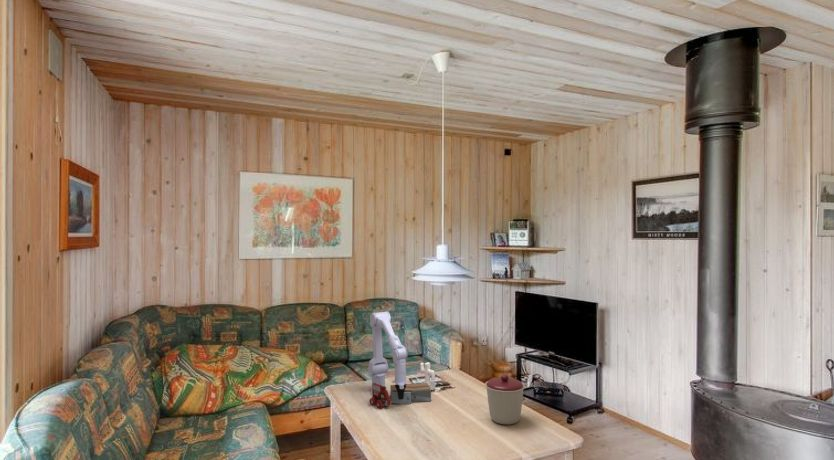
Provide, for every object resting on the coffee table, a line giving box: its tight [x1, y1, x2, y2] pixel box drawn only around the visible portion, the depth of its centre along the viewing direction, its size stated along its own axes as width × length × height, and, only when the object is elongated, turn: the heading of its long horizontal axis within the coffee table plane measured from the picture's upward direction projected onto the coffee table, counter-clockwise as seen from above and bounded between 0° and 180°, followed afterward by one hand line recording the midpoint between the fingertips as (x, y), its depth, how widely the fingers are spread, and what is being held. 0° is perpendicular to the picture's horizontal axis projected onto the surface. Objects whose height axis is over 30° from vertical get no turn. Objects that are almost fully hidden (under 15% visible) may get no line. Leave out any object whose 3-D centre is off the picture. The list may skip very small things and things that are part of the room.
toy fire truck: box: [369, 383, 392, 410], centre depth 234 cm, size 7×12×10 cm, turn 44°
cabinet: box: [389, 382, 432, 403], centre depth 242 cm, size 12×20×6 cm, turn 97°
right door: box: [391, 392, 412, 405], centre depth 235 cm, size 2×10×6 cm, turn 85°
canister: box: [484, 373, 526, 426], centre depth 214 cm, size 18×18×21 cm
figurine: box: [419, 361, 438, 391], centre depth 256 cm, size 7×9×15 cm
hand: (400, 399), depth 235 cm, fingers closed, pressing on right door
